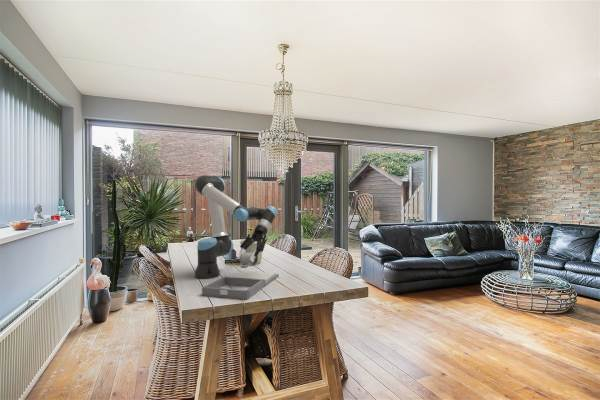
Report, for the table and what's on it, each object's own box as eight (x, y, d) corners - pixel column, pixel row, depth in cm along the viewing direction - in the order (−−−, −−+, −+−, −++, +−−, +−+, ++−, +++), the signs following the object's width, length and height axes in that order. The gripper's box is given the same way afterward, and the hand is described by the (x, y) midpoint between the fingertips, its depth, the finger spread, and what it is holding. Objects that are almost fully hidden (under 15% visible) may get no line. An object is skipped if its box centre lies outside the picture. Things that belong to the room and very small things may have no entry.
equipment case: (201, 295, 165) (201, 287, 165) (242, 274, 211) (242, 267, 211) (246, 299, 159) (246, 291, 159) (278, 276, 204) (278, 270, 204)
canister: (239, 261, 250) (238, 234, 250) (262, 260, 255) (262, 233, 254) (240, 266, 233) (240, 237, 232) (265, 265, 237) (265, 236, 237)
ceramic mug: (246, 263, 192) (245, 250, 192) (258, 264, 189) (257, 251, 188) (236, 268, 182) (235, 254, 182) (249, 269, 179) (248, 255, 179)
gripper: (279, 233, 193) (262, 265, 181) (252, 230, 205) (234, 261, 192) (273, 225, 188) (256, 258, 176) (245, 223, 200) (228, 254, 188)
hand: (245, 259), depth 184 cm, fingers closed on ceramic mug, 9 cm apart
